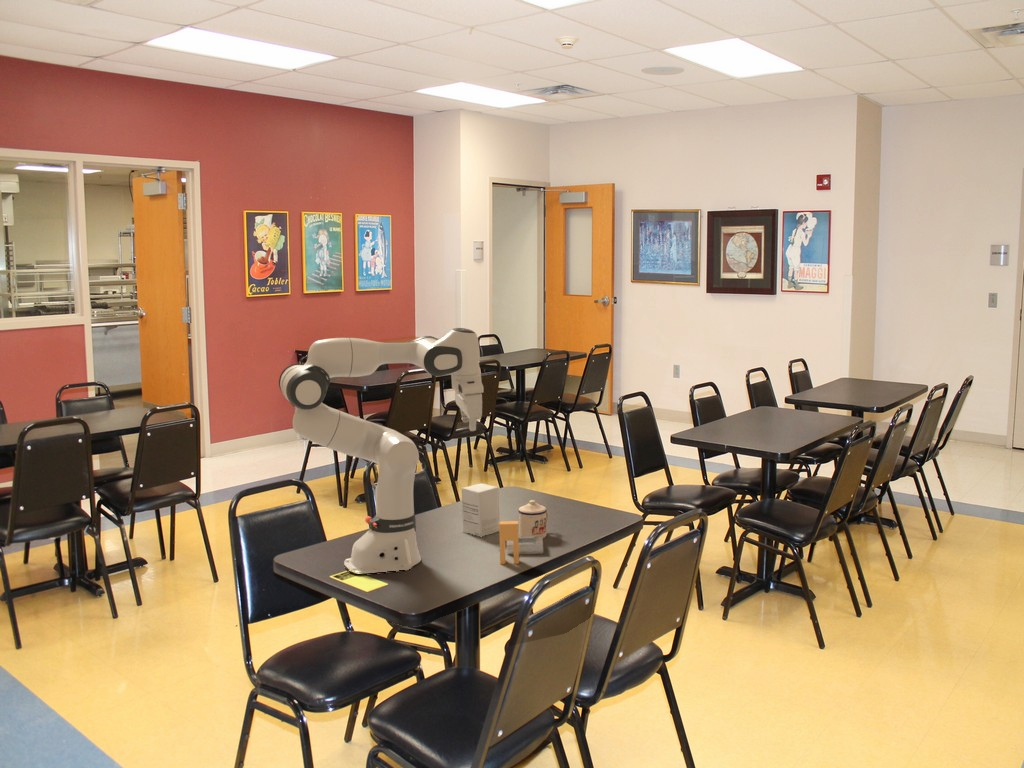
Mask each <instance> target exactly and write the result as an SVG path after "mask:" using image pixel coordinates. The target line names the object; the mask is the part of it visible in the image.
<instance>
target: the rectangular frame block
mask: <svg viewBox="0 0 1024 768" xmlns="http://www.w3.org/2000/svg"><path fill="white" fill-rule="evenodd" d="M543 539H544V538H542V536H525V537H520V536H519V555H543V554H544V541H543ZM506 555H514V544H513V541H506Z"/></svg>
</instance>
